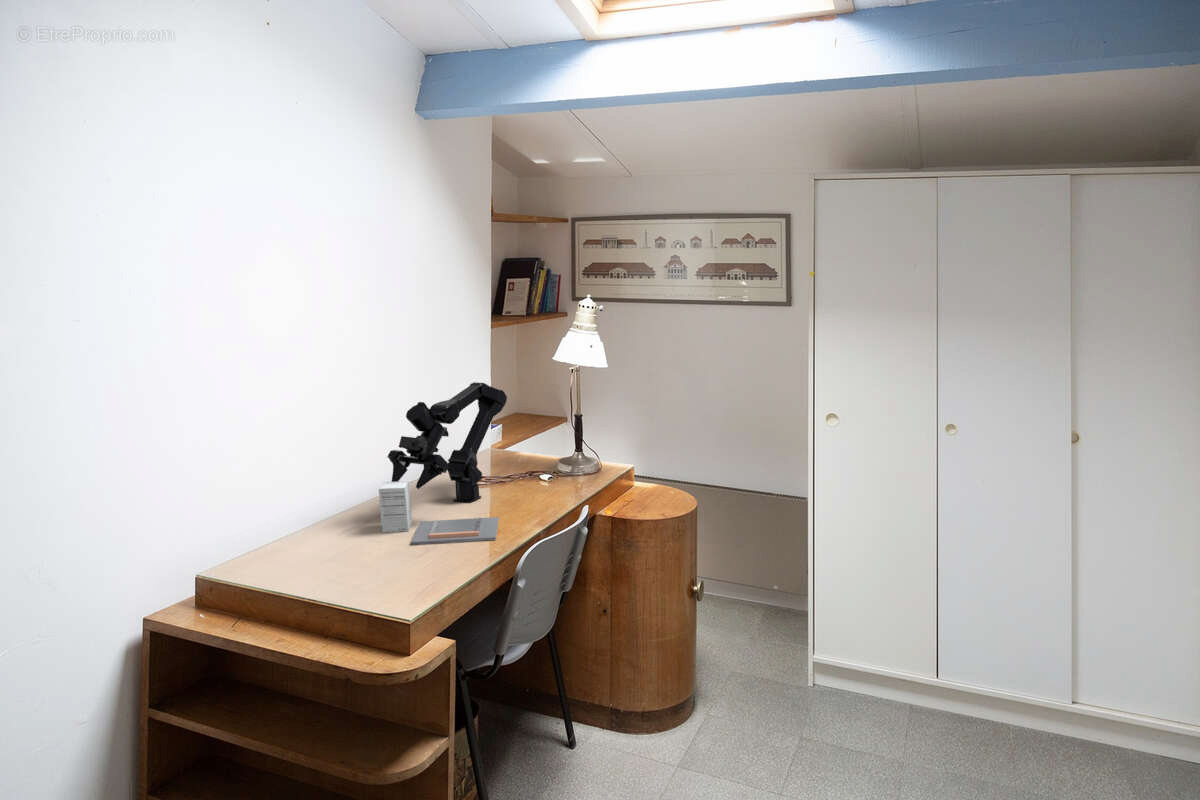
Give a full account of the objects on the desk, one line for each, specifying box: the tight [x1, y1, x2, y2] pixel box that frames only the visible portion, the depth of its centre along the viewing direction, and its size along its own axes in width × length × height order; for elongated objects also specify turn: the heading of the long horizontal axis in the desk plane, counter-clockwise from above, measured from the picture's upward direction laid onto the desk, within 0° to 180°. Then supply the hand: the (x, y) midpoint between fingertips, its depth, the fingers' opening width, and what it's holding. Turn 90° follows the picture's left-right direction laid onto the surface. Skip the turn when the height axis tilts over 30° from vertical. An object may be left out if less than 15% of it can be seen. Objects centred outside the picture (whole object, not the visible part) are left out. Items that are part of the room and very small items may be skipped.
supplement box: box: [378, 480, 413, 533], centre depth 220 cm, size 7×7×13 cm
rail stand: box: [410, 516, 500, 546], centre depth 216 cm, size 18×22×2 cm
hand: (404, 486), depth 223 cm, fingers open, 9 cm apart
